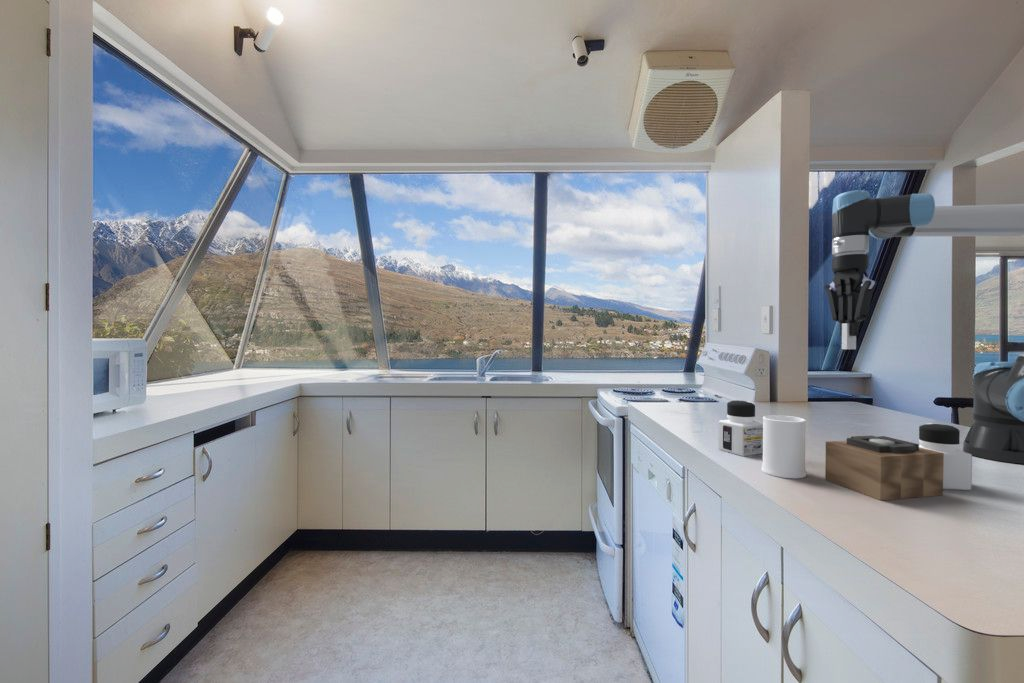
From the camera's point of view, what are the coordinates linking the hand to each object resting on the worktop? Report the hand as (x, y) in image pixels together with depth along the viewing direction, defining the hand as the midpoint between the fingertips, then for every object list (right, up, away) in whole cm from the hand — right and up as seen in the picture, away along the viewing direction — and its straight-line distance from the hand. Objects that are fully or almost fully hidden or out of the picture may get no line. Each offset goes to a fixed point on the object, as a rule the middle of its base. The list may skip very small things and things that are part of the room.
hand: (848, 349), depth 117 cm
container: (-26, -27, +3) cm, 37 cm away
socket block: (-12, -27, -25) cm, 39 cm away
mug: (-24, -27, -14) cm, 39 cm away
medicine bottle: (+1, -27, -23) cm, 36 cm away
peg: (-12, -27, -25) cm, 38 cm away
